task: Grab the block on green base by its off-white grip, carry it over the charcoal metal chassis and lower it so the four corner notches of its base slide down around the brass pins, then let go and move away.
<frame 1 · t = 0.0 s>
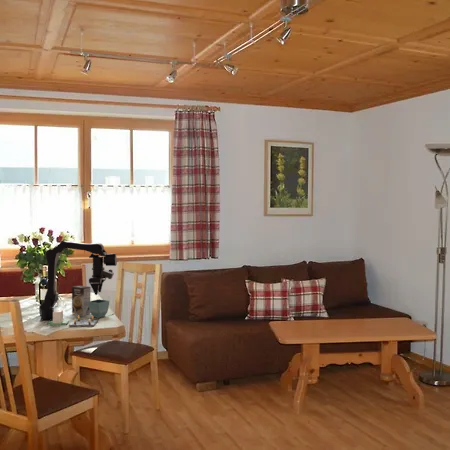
hand: (98, 293, 310), 15 cm above the table, tool pointing down, fingers open, 9 cm apart
coffee box: (81, 314, 326), on the table
chassis: (84, 323, 299), on the table
flower pot: (98, 316, 318), on the table
block on green base: (58, 323, 299), on the table
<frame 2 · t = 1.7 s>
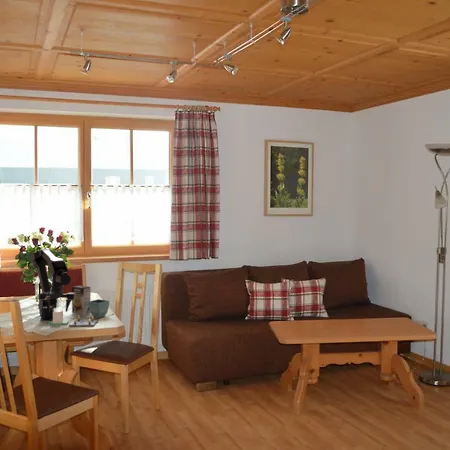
hand: (57, 311, 299), 7 cm above the table, tool pointing down, fingers open, 9 cm apart
nothing on the table moved.
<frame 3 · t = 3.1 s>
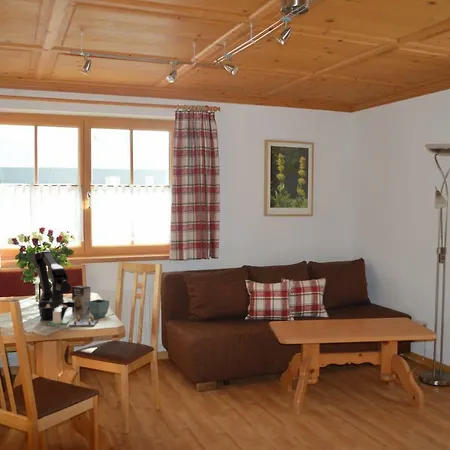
hand: (58, 319, 299), 2 cm above the table, tool pointing down, fingers closed on block on green base, 4 cm apart
block on green base: (58, 323, 299), on the table, touching gripper
everything else where it was.
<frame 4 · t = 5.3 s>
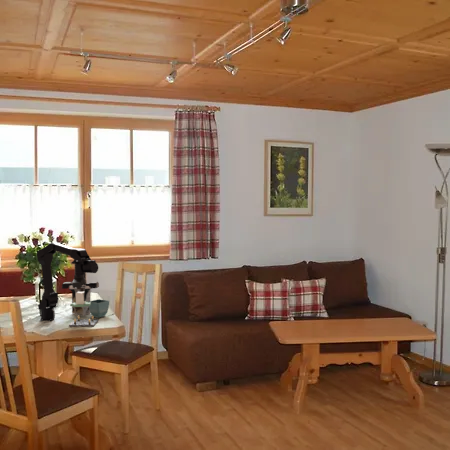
hand: (80, 301, 298), 12 cm above the table, tool pointing down, fingers closed on block on green base, 4 cm apart
block on green base: (80, 305, 298), point 10 cm above the table, touching gripper
everything else where it was.
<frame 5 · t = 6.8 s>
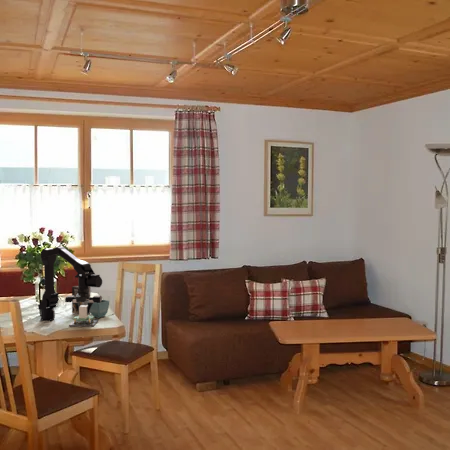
hand: (83, 314, 299), 5 cm above the table, tool pointing down, fingers closed on block on green base, 4 cm apart
block on green base: (83, 318, 299), point 3 cm above the table, touching gripper
everything else where it was.
when the fingers open (5 cm above the table, at t = 7.8 s): block on green base drops 1 cm, resting on chassis.
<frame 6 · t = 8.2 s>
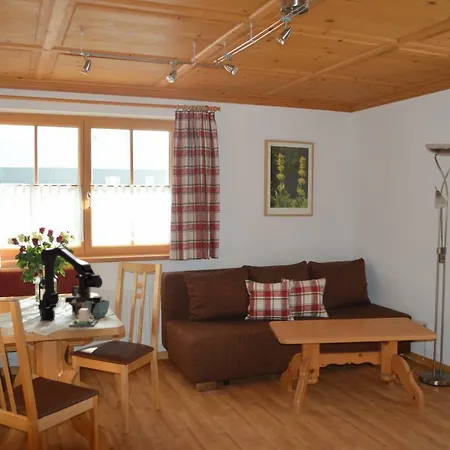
hand: (83, 315, 299), 5 cm above the table, tool pointing down, fingers open, 8 cm apart
block on green base: (83, 322, 299), point 1 cm above the table, touching chassis
everything else where it was.
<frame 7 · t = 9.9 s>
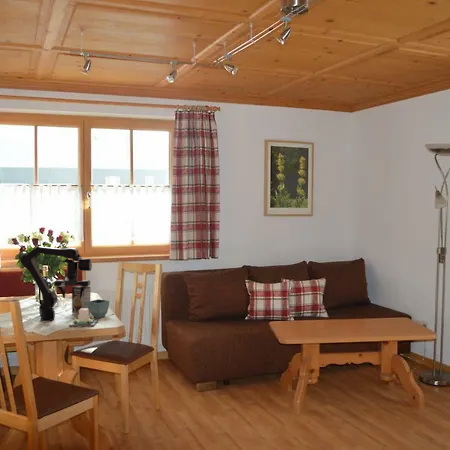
hand: (72, 298, 309), 12 cm above the table, tool pointing down, fingers open, 9 cm apart
nothing on the table moved.
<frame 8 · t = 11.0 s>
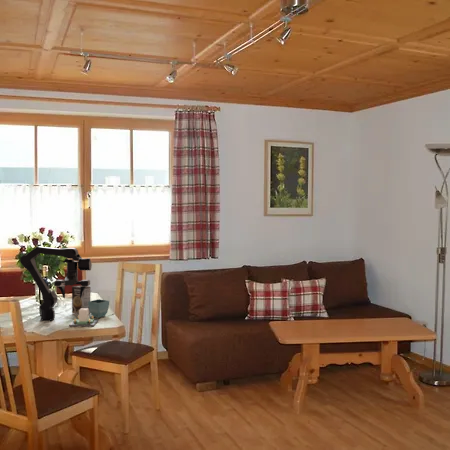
hand: (72, 298, 309), 12 cm above the table, tool pointing down, fingers open, 9 cm apart
nothing on the table moved.
at the end: block on green base 0.1 cm off-centre on the chassis, point 1.0 cm above the chassis's base; block on green base tilted 0°; the gripper is holding nothing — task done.
